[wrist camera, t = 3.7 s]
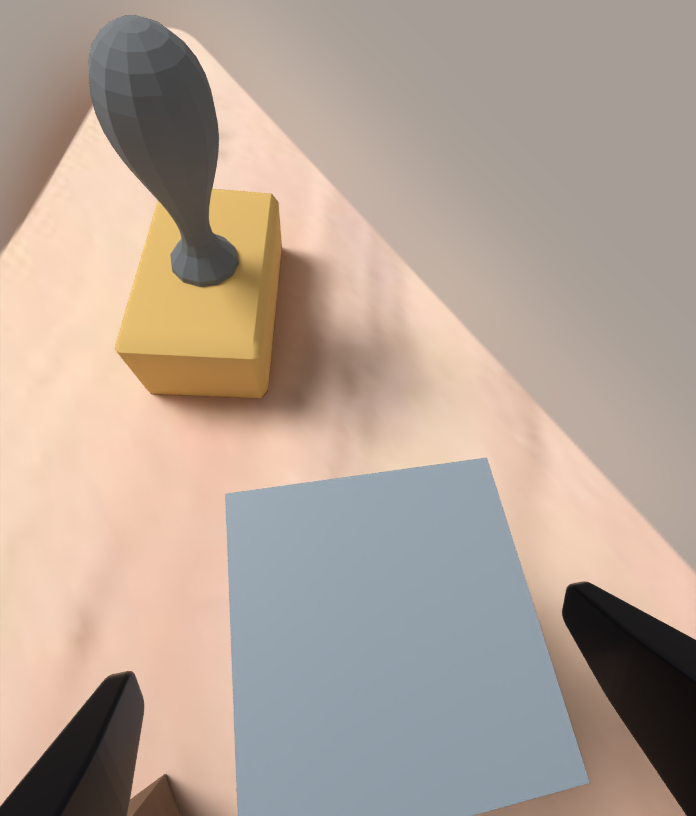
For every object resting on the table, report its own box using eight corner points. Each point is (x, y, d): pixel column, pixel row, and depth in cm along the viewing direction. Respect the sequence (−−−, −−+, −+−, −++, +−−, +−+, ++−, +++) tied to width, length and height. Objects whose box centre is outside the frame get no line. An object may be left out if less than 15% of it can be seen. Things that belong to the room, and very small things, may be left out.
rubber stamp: (267, 399, 19) (216, 153, 8) (144, 394, 19) (-79, 126, 8) (282, 247, 23) (260, -48, 13) (181, 240, 23) (68, -74, 12)
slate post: (405, 657, 15) (590, 783, 5) (286, 682, 15) (240, 881, 5) (382, 536, 17) (486, 457, 7) (275, 553, 16) (224, 494, 6)
